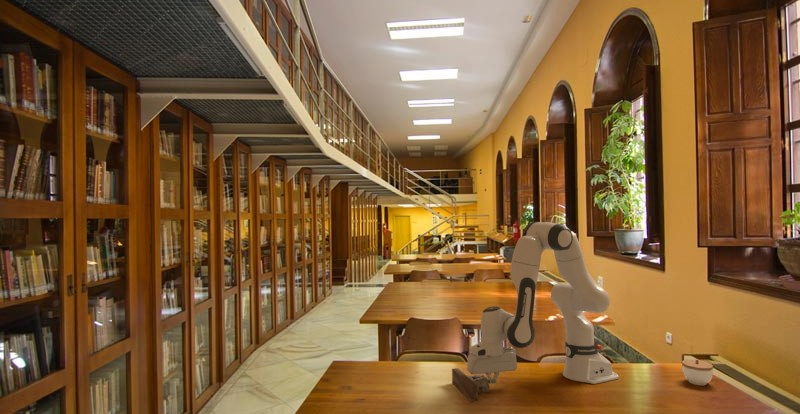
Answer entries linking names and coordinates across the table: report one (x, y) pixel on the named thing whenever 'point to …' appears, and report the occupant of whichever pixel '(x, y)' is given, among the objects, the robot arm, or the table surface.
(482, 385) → the stone
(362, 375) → the table surface
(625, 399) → the table surface
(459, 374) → the board
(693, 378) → the lidded jar
